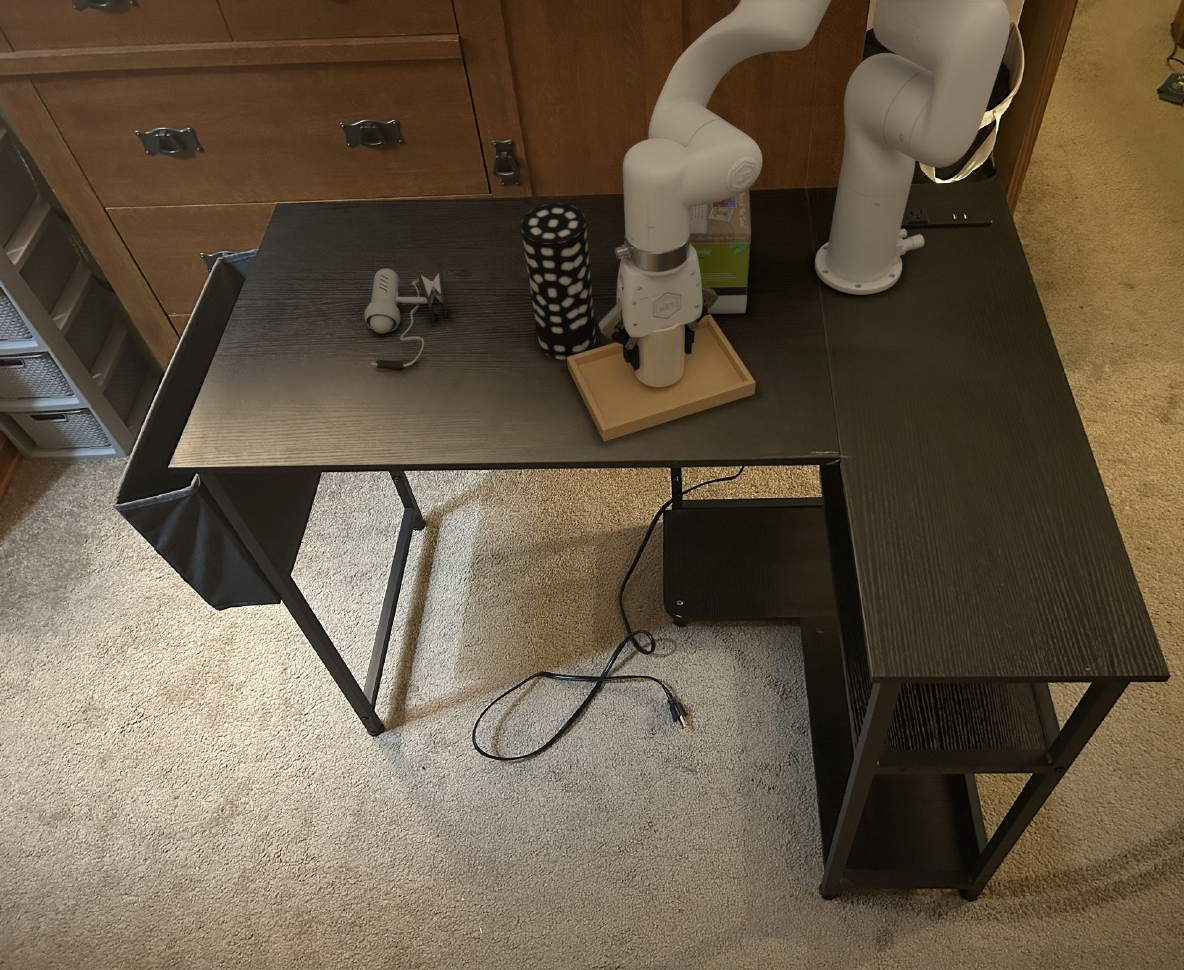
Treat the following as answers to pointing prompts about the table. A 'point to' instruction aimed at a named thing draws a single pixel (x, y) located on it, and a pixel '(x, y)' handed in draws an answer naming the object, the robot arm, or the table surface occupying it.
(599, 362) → the tray
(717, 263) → the tea box
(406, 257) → the table surface
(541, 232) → the spotted tube
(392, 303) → the clip-on lamp
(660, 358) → the cup
